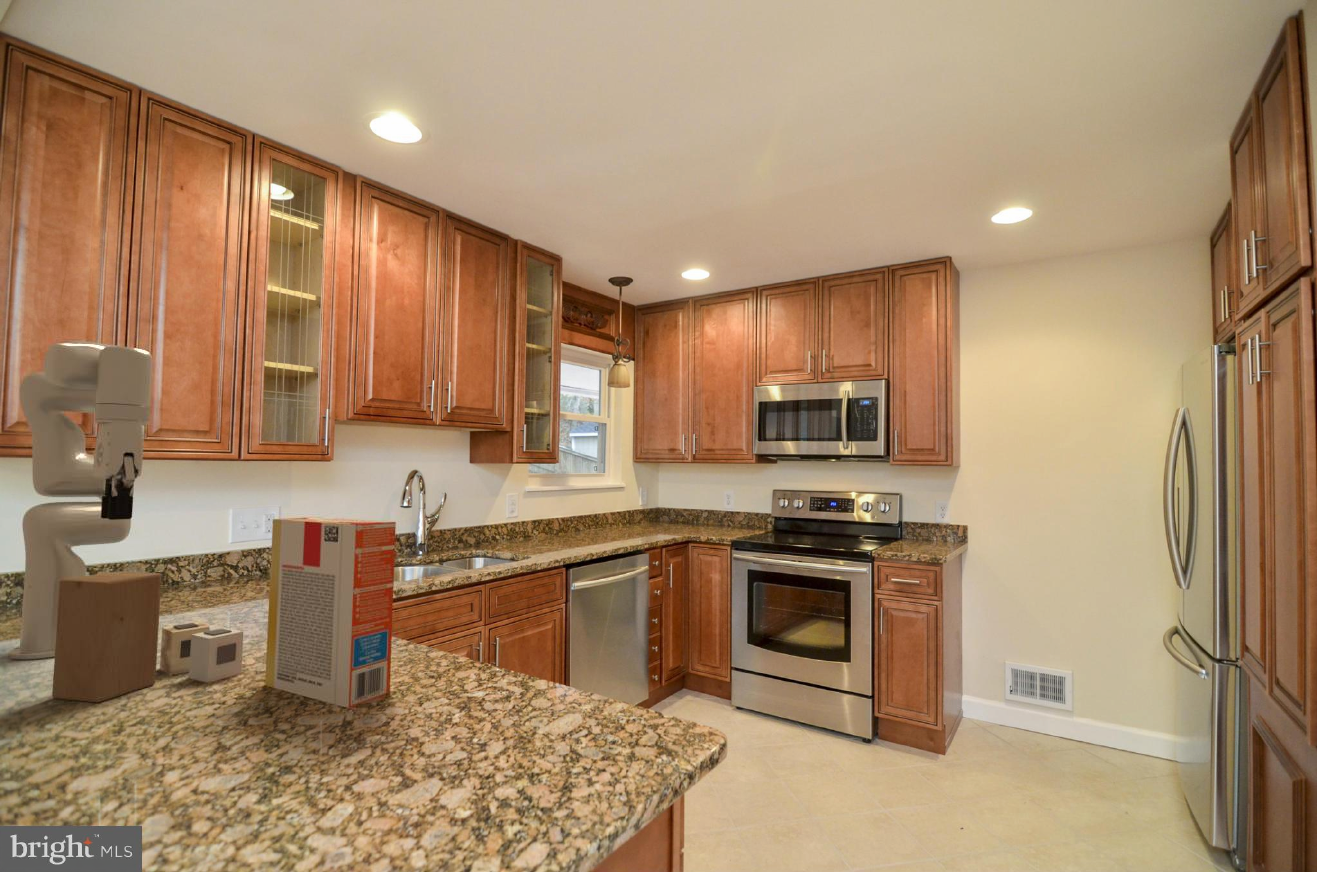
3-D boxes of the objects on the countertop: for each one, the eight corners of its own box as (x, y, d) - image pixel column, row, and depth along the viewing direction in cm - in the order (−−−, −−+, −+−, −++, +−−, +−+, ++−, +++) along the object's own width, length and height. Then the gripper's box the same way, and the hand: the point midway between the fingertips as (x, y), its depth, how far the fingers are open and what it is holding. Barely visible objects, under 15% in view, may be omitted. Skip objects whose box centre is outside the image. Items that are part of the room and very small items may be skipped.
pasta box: (389, 693, 111) (395, 521, 113) (348, 707, 104) (355, 524, 106) (307, 673, 121) (314, 516, 123) (265, 685, 114) (272, 519, 116)
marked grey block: (188, 677, 118) (191, 632, 119) (222, 669, 124) (225, 626, 124) (208, 683, 115) (210, 637, 116) (242, 674, 121) (244, 630, 121)
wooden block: (97, 703, 104) (105, 581, 106) (50, 699, 106) (58, 579, 108) (156, 684, 114) (163, 572, 116) (112, 680, 116) (119, 570, 118)
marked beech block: (159, 669, 123) (162, 626, 124) (196, 662, 128) (198, 620, 128) (171, 675, 119) (173, 631, 120) (207, 667, 124) (210, 625, 125)
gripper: (82, 416, 115) (75, 517, 114) (109, 412, 106) (102, 522, 104) (134, 419, 121) (128, 515, 120) (164, 415, 112) (157, 520, 110)
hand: (116, 517), depth 112 cm, fingers open, 3 cm apart
